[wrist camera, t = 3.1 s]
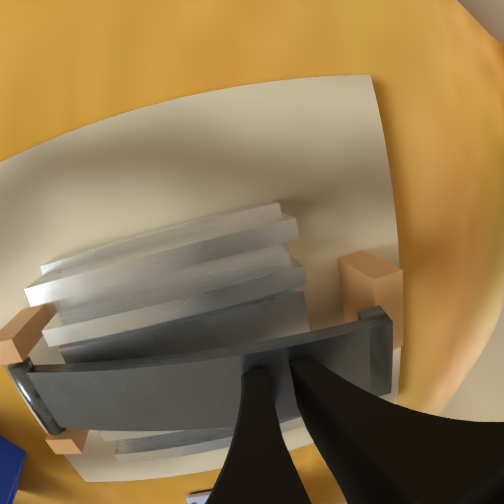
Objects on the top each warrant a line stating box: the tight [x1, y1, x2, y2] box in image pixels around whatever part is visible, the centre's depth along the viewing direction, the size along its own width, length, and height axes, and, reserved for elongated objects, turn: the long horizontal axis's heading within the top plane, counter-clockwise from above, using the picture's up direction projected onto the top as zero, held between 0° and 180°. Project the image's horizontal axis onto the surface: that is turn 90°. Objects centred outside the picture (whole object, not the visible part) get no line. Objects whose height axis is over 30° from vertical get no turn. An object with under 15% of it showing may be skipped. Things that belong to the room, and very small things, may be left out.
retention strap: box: [8, 305, 393, 435], centre depth 10 cm, size 4×15×2 cm, turn 102°
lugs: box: [0, 250, 404, 454], centre depth 12 cm, size 6×17×4 cm, turn 102°
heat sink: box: [24, 200, 310, 463], centre depth 13 cm, size 10×10×3 cm
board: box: [0, 75, 401, 482], centre depth 15 cm, size 20×22×1 cm
